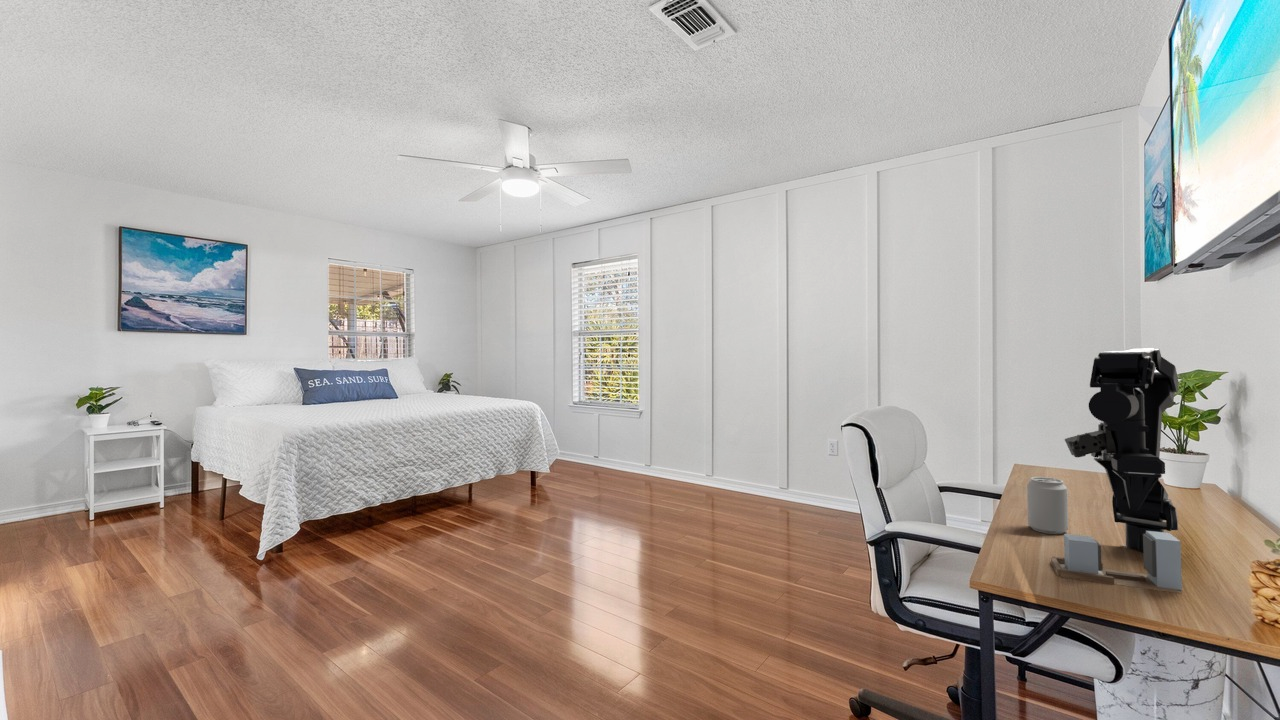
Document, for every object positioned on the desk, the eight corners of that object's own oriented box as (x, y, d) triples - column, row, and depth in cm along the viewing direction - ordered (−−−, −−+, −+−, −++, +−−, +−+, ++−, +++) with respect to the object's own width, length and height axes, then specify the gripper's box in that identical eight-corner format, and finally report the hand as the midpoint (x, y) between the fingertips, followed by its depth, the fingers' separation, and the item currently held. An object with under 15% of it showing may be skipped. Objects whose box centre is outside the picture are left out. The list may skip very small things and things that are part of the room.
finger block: (1064, 566, 100) (1063, 533, 100) (1096, 570, 98) (1095, 536, 98) (1069, 573, 96) (1068, 539, 96) (1102, 577, 94) (1101, 543, 94)
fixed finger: (1143, 576, 95) (1142, 530, 95) (1170, 579, 93) (1168, 532, 93) (1153, 586, 90) (1152, 538, 90) (1181, 590, 89) (1180, 541, 89)
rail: (1050, 569, 102) (1049, 556, 102) (1163, 584, 95) (1162, 570, 95) (1058, 584, 95) (1058, 570, 95) (1181, 602, 88) (1181, 586, 88)
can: (1029, 523, 131) (1028, 474, 131) (1068, 529, 126) (1067, 477, 126) (1026, 531, 125) (1025, 479, 125) (1068, 537, 121) (1066, 483, 121)
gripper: (1058, 413, 112) (1060, 489, 111) (1080, 422, 95) (1082, 511, 95) (1129, 414, 106) (1131, 494, 106) (1165, 424, 90) (1167, 518, 90)
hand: (1125, 503), depth 99 cm, fingers open, 9 cm apart
